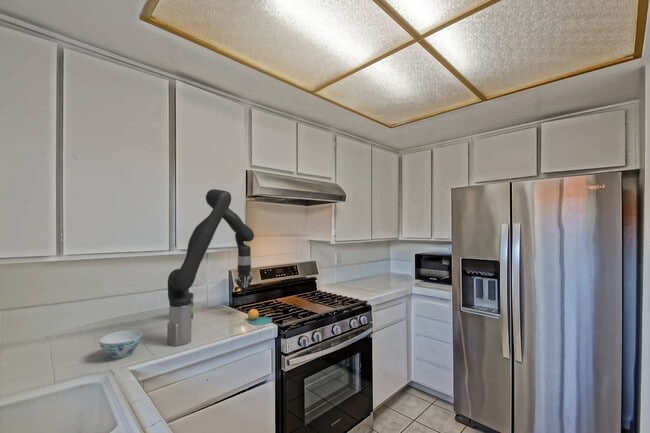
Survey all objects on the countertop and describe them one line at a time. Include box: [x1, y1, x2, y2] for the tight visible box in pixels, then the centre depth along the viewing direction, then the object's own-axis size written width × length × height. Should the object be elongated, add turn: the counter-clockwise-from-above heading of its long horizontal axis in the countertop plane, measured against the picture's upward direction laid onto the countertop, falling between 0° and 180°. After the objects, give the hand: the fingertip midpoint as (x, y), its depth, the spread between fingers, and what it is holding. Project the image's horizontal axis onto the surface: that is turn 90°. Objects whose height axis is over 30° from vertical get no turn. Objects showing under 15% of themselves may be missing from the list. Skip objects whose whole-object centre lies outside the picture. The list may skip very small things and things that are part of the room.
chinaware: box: [98, 329, 143, 359], centre depth 129 cm, size 15×15×8 cm
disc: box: [248, 316, 273, 326], centre depth 173 cm, size 13×13×1 cm
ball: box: [247, 308, 260, 320], centre depth 175 cm, size 6×6×6 cm
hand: (244, 294), depth 179 cm, fingers closed
